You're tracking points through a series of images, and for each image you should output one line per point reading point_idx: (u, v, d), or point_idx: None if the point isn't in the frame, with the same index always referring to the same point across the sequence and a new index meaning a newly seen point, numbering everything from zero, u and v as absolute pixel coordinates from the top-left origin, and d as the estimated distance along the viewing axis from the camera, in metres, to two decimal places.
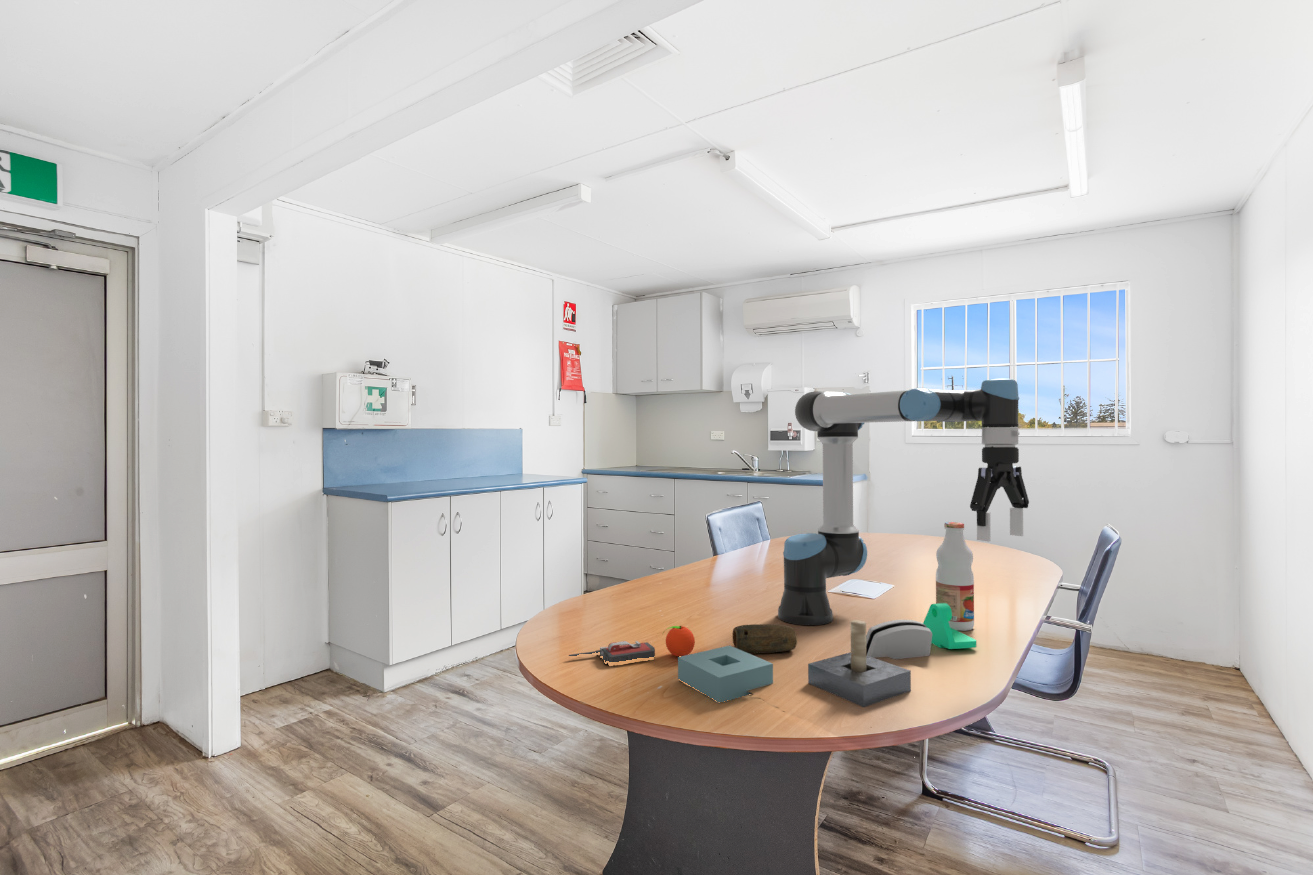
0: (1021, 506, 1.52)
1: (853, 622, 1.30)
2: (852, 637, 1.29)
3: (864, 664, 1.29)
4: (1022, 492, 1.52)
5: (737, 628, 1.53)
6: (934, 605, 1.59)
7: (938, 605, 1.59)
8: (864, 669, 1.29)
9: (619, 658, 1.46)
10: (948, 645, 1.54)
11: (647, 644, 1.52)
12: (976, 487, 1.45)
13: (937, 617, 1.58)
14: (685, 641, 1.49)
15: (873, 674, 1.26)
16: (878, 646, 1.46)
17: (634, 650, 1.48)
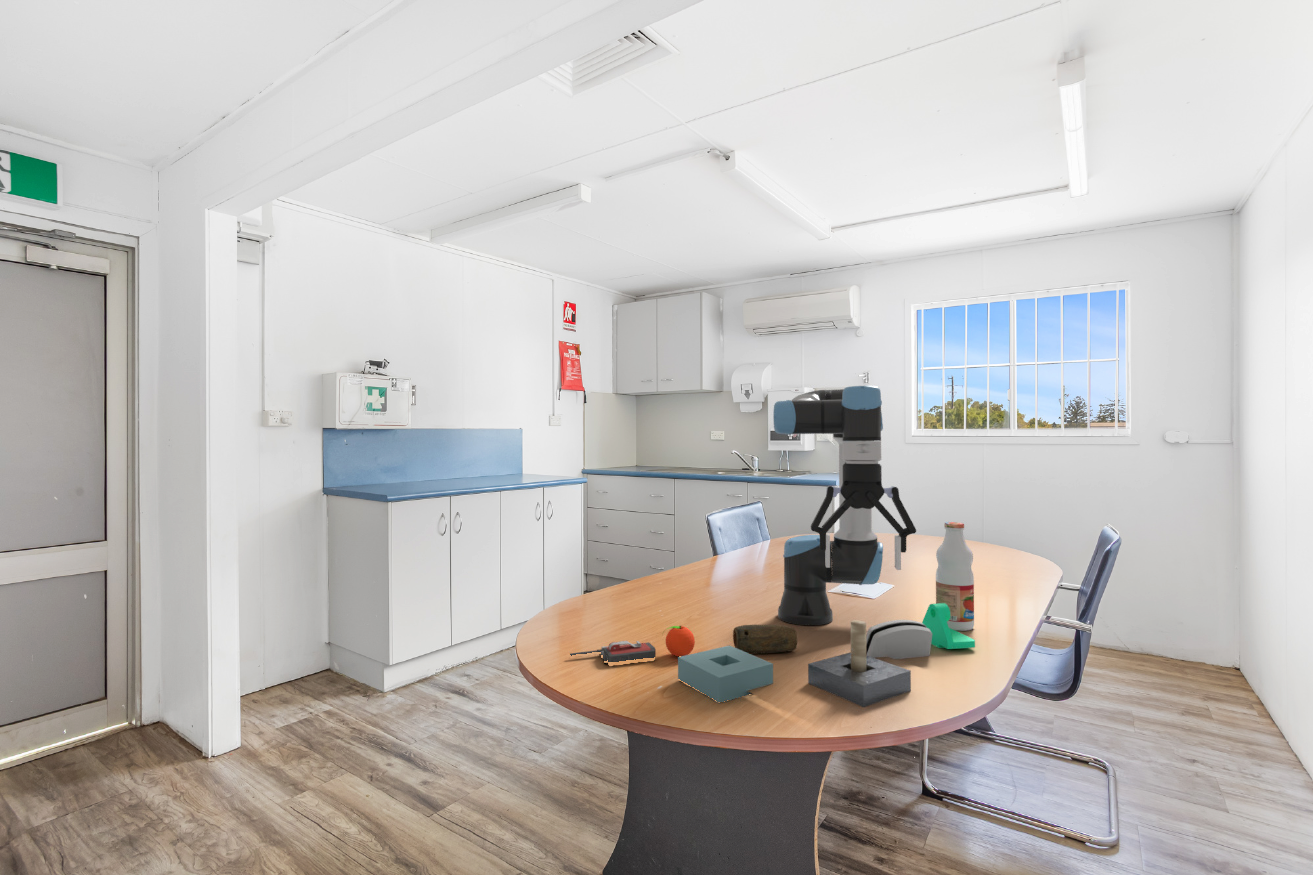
0: (900, 534, 1.28)
1: (853, 622, 1.30)
2: (852, 637, 1.29)
3: (864, 664, 1.29)
4: (903, 518, 1.28)
5: (737, 628, 1.53)
6: (933, 605, 1.59)
7: (937, 605, 1.59)
8: (864, 669, 1.29)
9: (619, 658, 1.46)
10: (946, 645, 1.54)
11: (648, 644, 1.52)
12: (820, 507, 1.33)
13: (936, 617, 1.58)
14: (685, 641, 1.49)
15: (873, 674, 1.26)
16: (878, 646, 1.46)
17: (634, 650, 1.48)
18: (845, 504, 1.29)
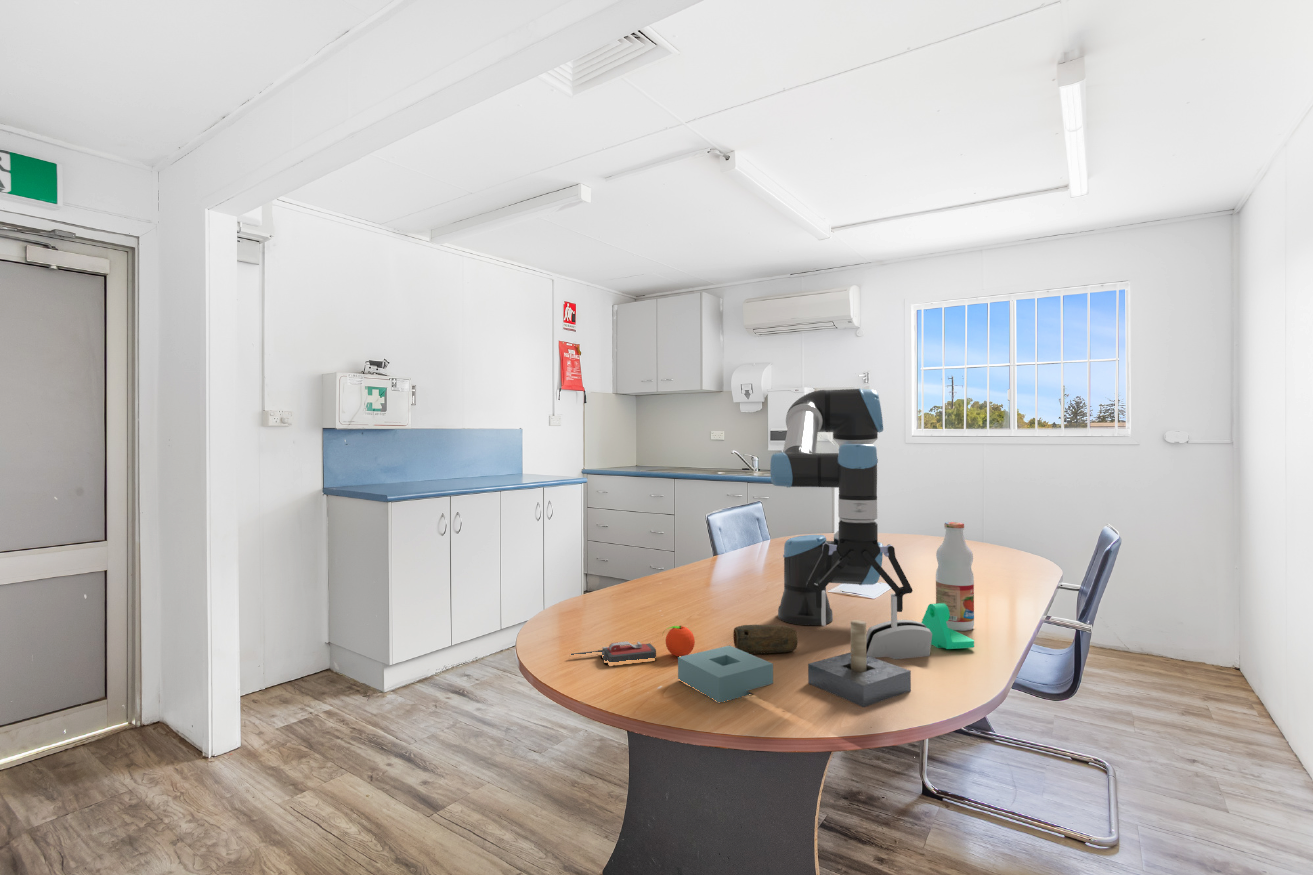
0: (896, 594, 1.27)
1: (853, 622, 1.30)
2: (852, 637, 1.29)
3: (864, 664, 1.29)
4: (899, 577, 1.27)
5: (737, 628, 1.54)
6: (932, 605, 1.59)
7: (936, 605, 1.59)
8: (864, 669, 1.29)
9: (619, 658, 1.46)
10: (945, 645, 1.54)
11: (649, 645, 1.52)
12: (816, 563, 1.32)
13: (935, 617, 1.58)
14: (685, 641, 1.49)
15: (873, 674, 1.26)
16: (878, 646, 1.46)
17: (635, 651, 1.48)
18: (841, 562, 1.29)
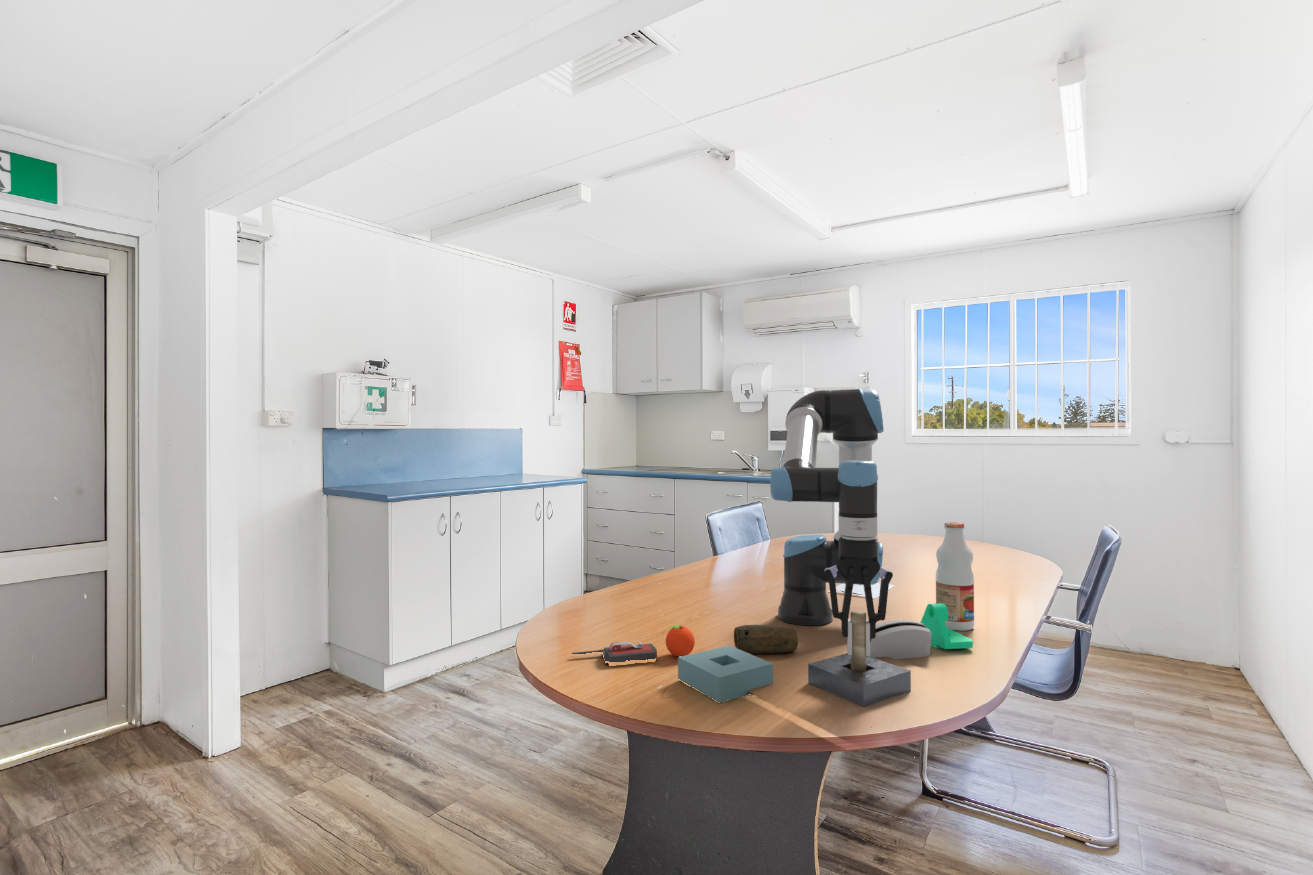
0: (869, 619, 1.29)
1: (853, 612, 1.30)
2: (852, 627, 1.30)
3: (864, 654, 1.29)
4: (880, 602, 1.28)
5: (738, 628, 1.53)
6: (931, 605, 1.59)
7: (934, 605, 1.59)
8: (864, 660, 1.29)
9: (619, 658, 1.46)
10: (944, 645, 1.54)
11: (650, 645, 1.51)
12: None
13: (933, 617, 1.58)
14: (685, 641, 1.49)
15: (873, 674, 1.26)
16: (877, 646, 1.46)
17: (635, 651, 1.48)
18: (848, 584, 1.29)
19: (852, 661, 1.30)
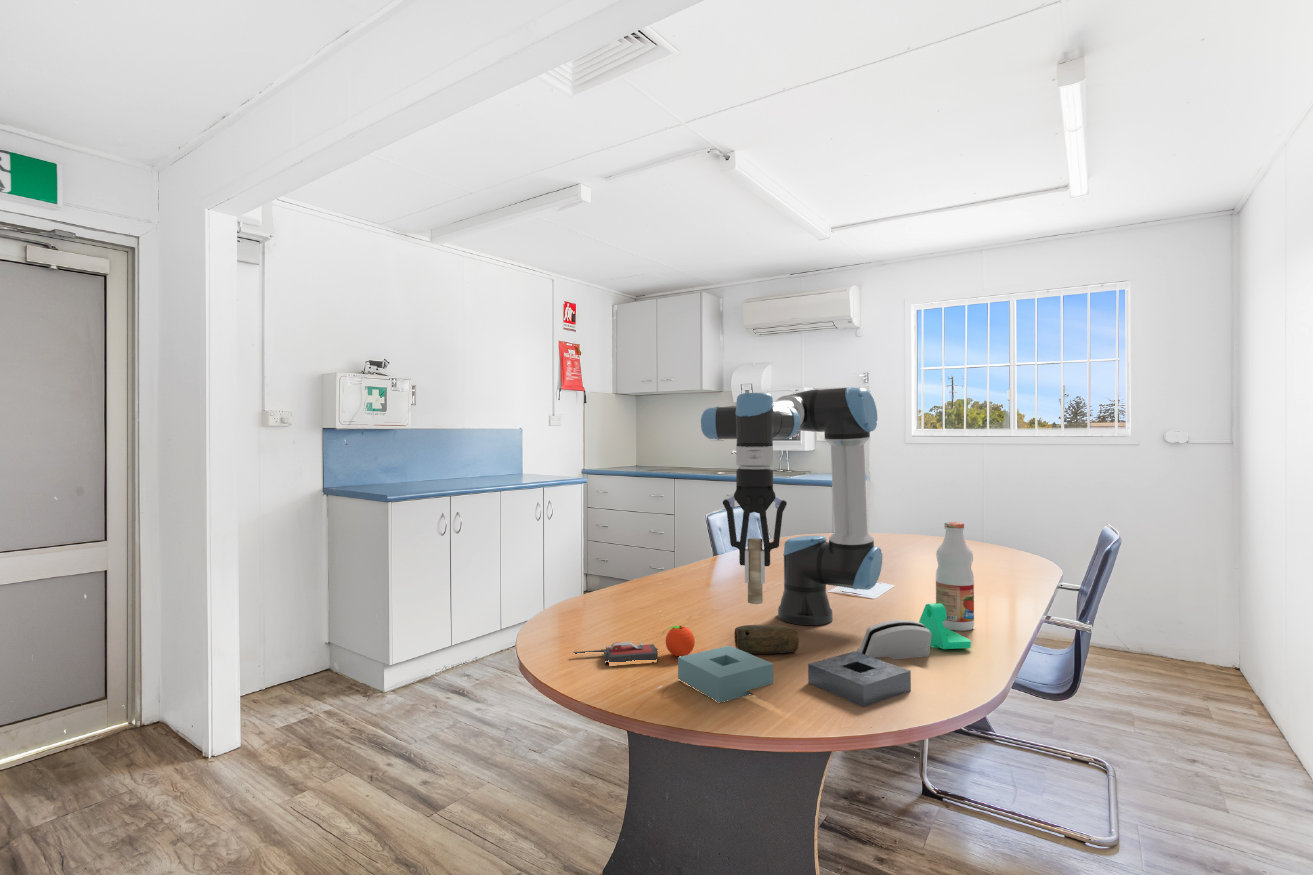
0: (764, 547, 1.32)
1: (750, 539, 1.33)
2: None
3: (760, 579, 1.32)
4: None
5: (738, 628, 1.53)
6: (929, 605, 1.59)
7: (932, 605, 1.59)
8: (760, 584, 1.32)
9: (619, 658, 1.46)
10: (941, 645, 1.54)
11: (652, 646, 1.51)
12: None
13: (931, 617, 1.58)
14: (685, 641, 1.49)
15: (873, 674, 1.26)
16: (876, 646, 1.46)
17: (636, 651, 1.47)
18: (744, 513, 1.32)
19: (748, 586, 1.33)
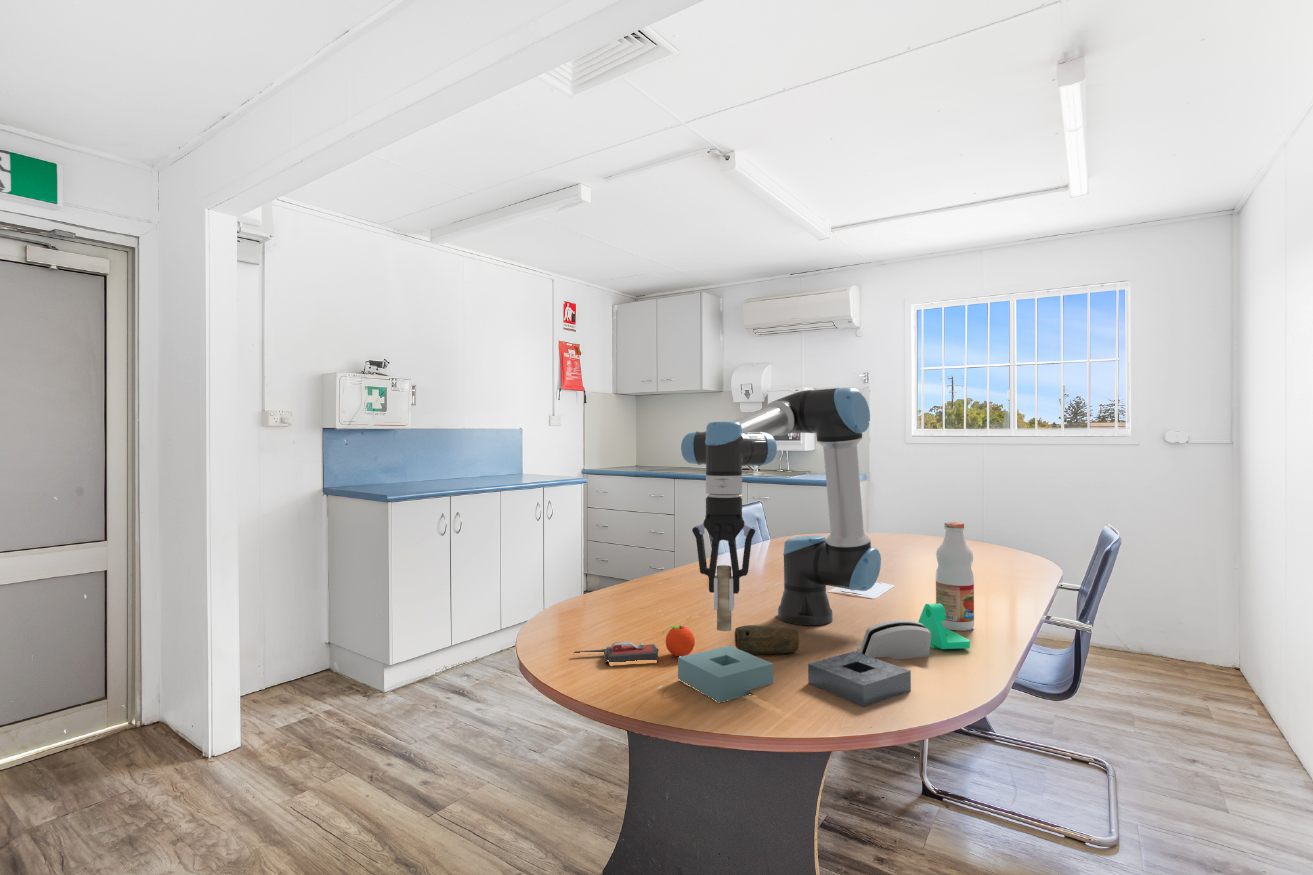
0: None
1: (719, 566, 1.34)
2: None
3: (728, 606, 1.33)
4: (743, 558, 1.33)
5: (738, 628, 1.53)
6: (928, 605, 1.59)
7: (932, 605, 1.59)
8: (728, 611, 1.33)
9: (619, 658, 1.46)
10: (940, 645, 1.54)
11: (652, 646, 1.51)
12: None
13: (931, 617, 1.58)
14: (685, 641, 1.49)
15: (873, 674, 1.26)
16: (876, 646, 1.46)
17: (636, 651, 1.47)
18: (713, 540, 1.33)
19: (717, 613, 1.34)
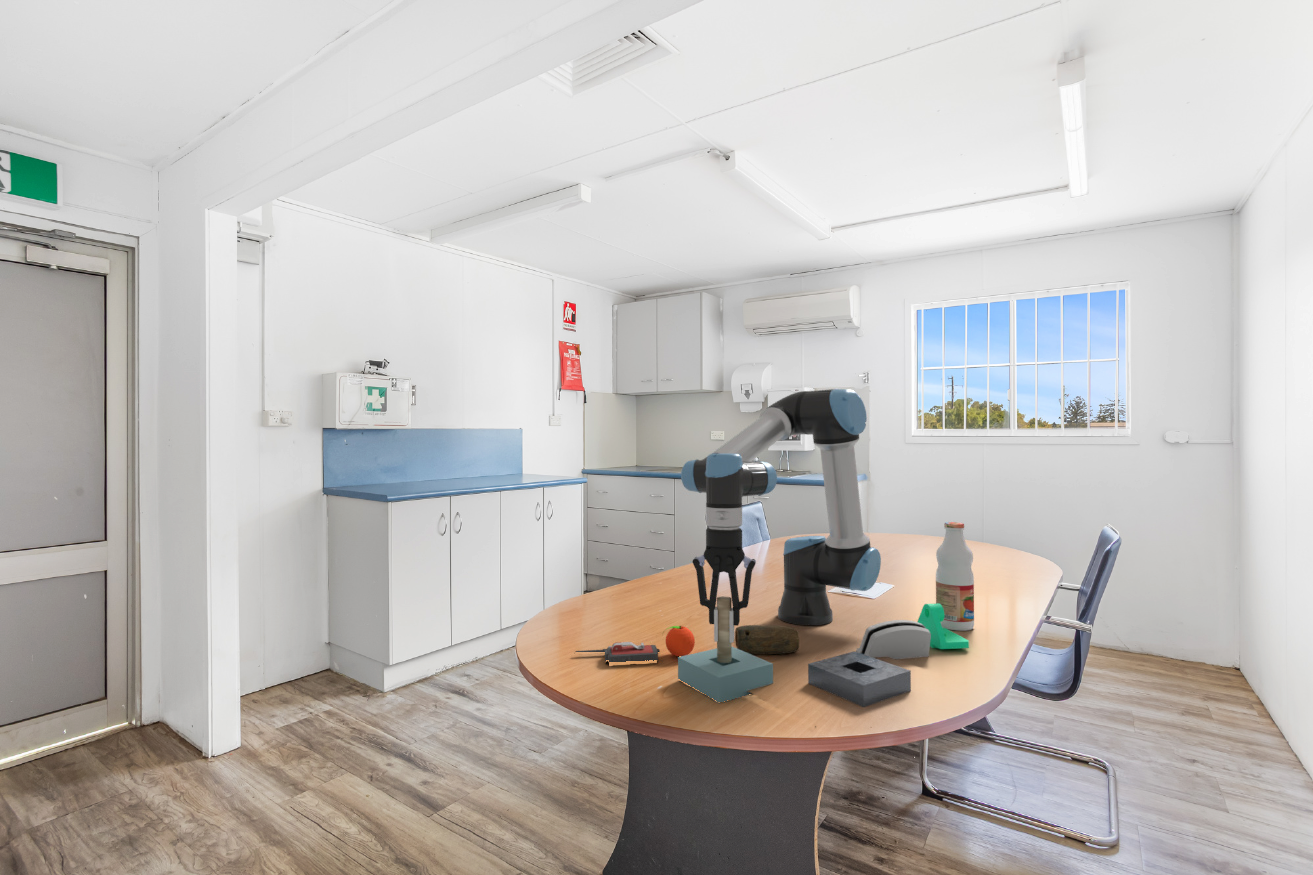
0: (733, 606, 1.33)
1: (719, 598, 1.34)
2: (718, 612, 1.34)
3: (728, 638, 1.33)
4: (743, 590, 1.33)
5: (739, 628, 1.53)
6: (927, 605, 1.59)
7: (931, 605, 1.59)
8: (729, 643, 1.33)
9: (619, 658, 1.46)
10: (939, 645, 1.54)
11: (653, 647, 1.50)
12: None
13: (929, 617, 1.58)
14: (685, 641, 1.49)
15: (873, 674, 1.26)
16: (875, 646, 1.46)
17: (636, 652, 1.47)
18: (713, 572, 1.33)
19: (717, 645, 1.34)
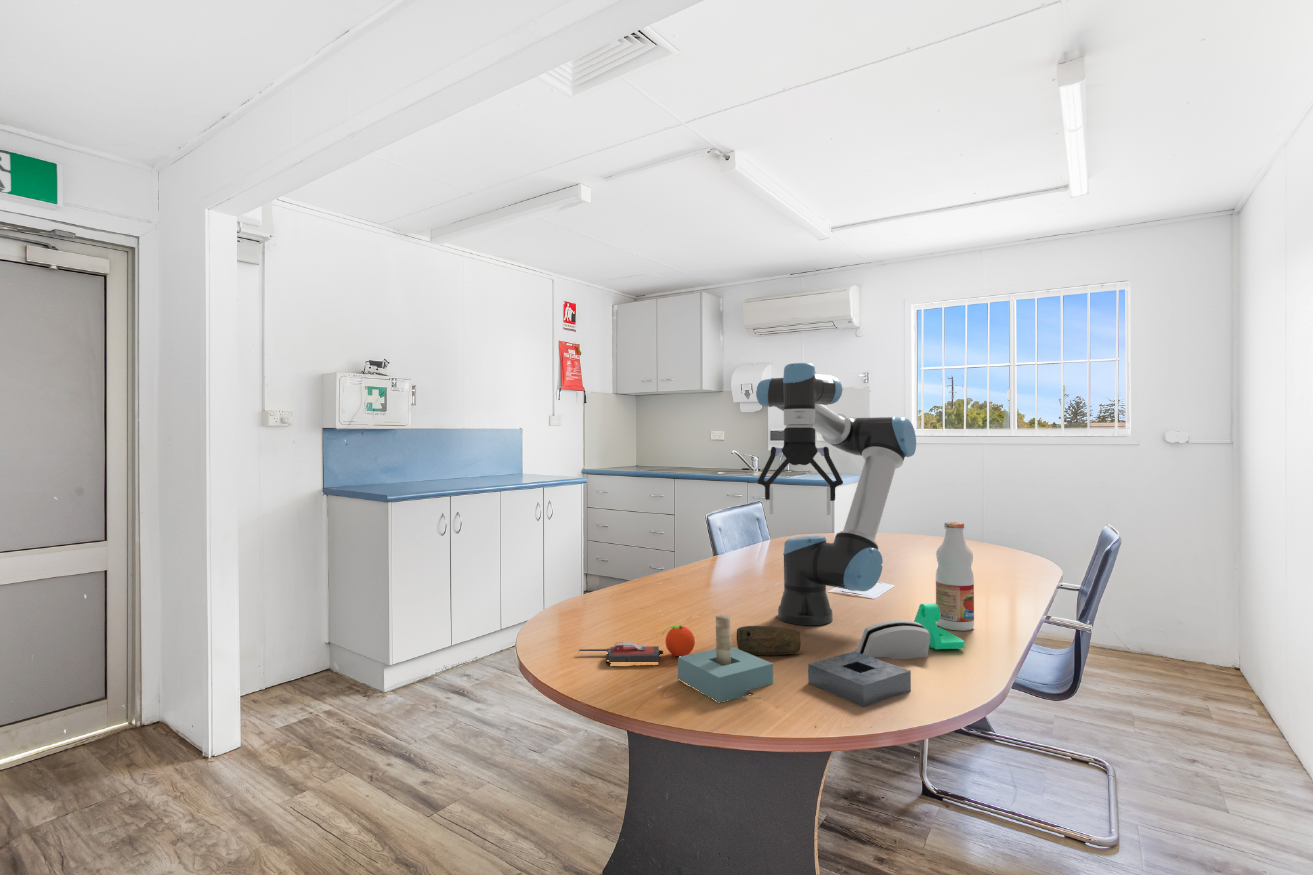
0: (830, 486, 1.55)
1: (718, 617, 1.34)
2: (716, 631, 1.34)
3: (728, 657, 1.33)
4: (832, 472, 1.55)
5: (740, 629, 1.53)
6: (923, 605, 1.59)
7: (926, 605, 1.59)
8: (728, 662, 1.33)
9: (619, 658, 1.45)
10: (934, 645, 1.54)
11: (655, 648, 1.49)
12: None
13: (925, 617, 1.58)
14: (685, 641, 1.49)
15: (873, 674, 1.26)
16: (874, 646, 1.46)
17: (637, 652, 1.46)
18: (785, 461, 1.56)
19: None
